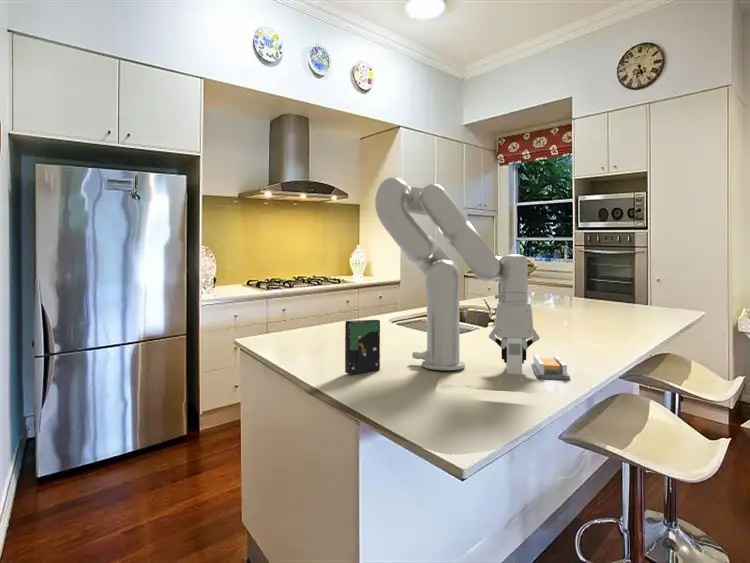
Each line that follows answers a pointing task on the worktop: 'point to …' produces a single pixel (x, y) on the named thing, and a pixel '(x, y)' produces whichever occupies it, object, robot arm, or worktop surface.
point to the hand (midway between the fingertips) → (513, 361)
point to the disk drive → (362, 346)
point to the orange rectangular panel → (550, 363)
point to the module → (514, 356)
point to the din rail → (550, 370)
